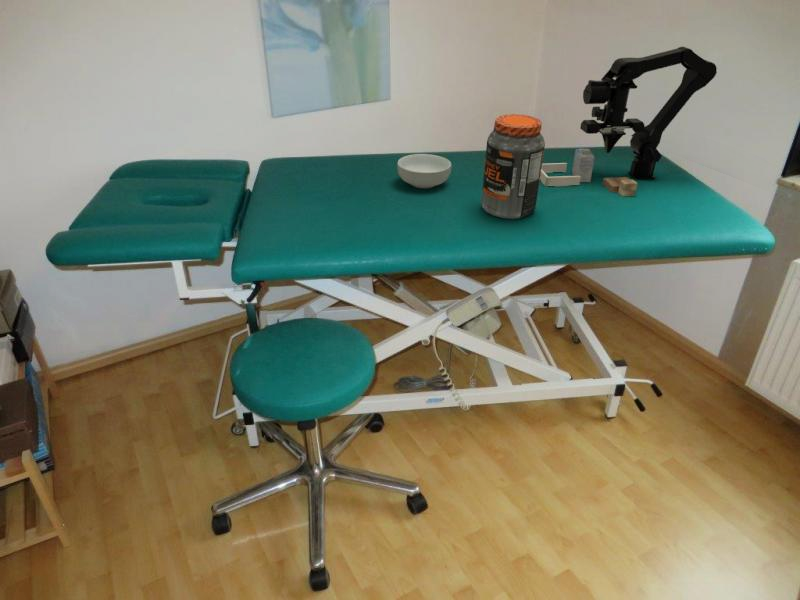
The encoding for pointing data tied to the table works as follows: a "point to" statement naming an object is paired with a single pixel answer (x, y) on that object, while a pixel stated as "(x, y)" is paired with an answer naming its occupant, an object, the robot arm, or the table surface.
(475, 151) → the table surface
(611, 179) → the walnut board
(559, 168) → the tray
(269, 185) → the table surface
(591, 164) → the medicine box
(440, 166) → the cereal bowl
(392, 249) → the table surface
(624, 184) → the beech block
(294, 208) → the table surface
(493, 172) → the supplement tub
